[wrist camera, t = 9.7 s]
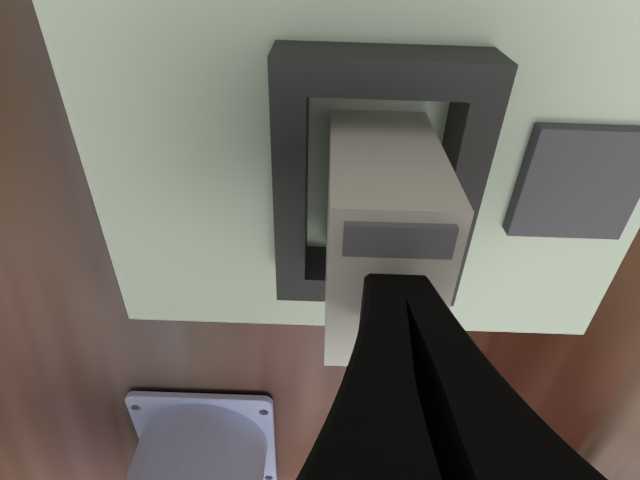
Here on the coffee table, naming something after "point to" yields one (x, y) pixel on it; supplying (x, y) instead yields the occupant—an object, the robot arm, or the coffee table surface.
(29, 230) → the coffee table surface
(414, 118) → the plug
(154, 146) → the board
